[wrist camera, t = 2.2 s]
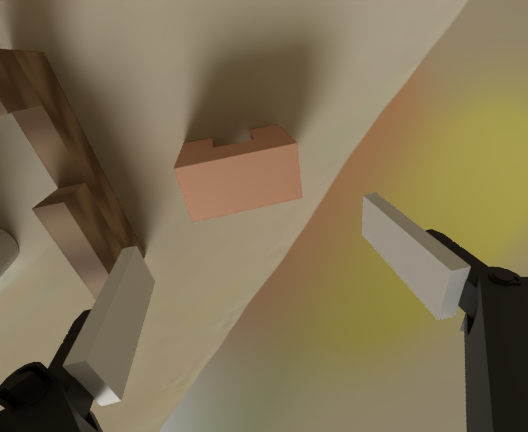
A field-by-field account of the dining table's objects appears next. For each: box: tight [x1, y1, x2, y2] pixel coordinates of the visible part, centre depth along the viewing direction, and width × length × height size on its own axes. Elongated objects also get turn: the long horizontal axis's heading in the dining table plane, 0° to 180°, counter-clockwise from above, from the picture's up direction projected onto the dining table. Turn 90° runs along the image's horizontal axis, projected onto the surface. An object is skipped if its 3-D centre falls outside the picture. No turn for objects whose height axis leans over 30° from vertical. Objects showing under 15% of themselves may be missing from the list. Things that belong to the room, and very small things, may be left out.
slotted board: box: [0, 49, 145, 300], centre depth 24 cm, size 22×2×8 cm, turn 9°
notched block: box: [174, 124, 302, 222], centre depth 26 cm, size 10×5×8 cm, turn 99°
